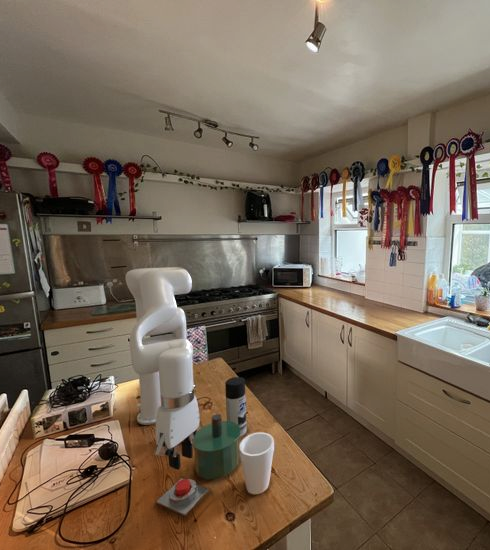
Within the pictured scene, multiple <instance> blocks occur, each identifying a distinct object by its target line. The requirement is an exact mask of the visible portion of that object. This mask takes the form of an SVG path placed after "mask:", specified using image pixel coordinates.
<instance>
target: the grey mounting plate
mask: <svg viewBox="0 0 490 550" xmlns="http://www.w3.org/2000/svg"><path fill="white" fill-rule="evenodd" d="M183 479H184V478H182V477H181V478H180V479H179V480H178V481H177V482H176V483H174V484H173V485H172V486H171V487H170V488H169V489H168V490H167V491H166V492H164V493H163V494H162V495H161V496H160V497H159V498H158V499H157V500H156V502H155V503H156V505H157V506H160V507H163V508H165V509H167V510H168V511H171V512H174V513H176V514H177V515H180V516H182V517H184V518H185V517H187V516H188V515H189V514H190V512H191V511H193V509H194V508H195V507H196V506H197V505H198V504H199V503H200V502H201V501H202V500H203V498H205V496H206V495H207V494H208V493H209V492H210V488H208V487H205V486H203V485H200V484H197V482H196V480H194V479H191V478H187V479H188V480H189V481H190V490H189V492H188V493H187V494H185V495H183V496H177V495H176V494H175V485H176V484H177V483H178V482H179V481H181V480H183Z"/></svg>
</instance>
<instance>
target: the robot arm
mask: <svg viewBox="0 0 490 550" xmlns="http://www.w3.org/2000/svg"><path fill="white" fill-rule="evenodd" d="M125 283H126V286H127V288H128V290H129V291H130V294H132V297H133V299H134V301H135V312H136V313H135V314H136V323H135V325H133V328H132V331H131V332H130V336H129V351H130V359H131V365H132V369H133V371H134V373H136V374H137V375H138V383H139V384H138V385H139V397H140V401H139V403H137V404H136V408H139V410H140V412H139V413H138V414H137V416H136V421H137V423H138V424H140V425H145V426H146V425H147V426H151V425H153V424H155V445H156V446H157V447H156V450H155V453H154V455H155V456H157V457H158V458H159V457H165V456H168V466H169V468H172V469H175V470H177V471H179V470H180V469H181V465H182V464H181V456H182V457H183V458H186V459H190V460H191V459H192V458H193V457H194V454H193V453H194V450H193V444H192V443H193V442H194V436H195V434H196V432H197V431H198V430H199V428H201V425H202V421H201V419H200V411H199V404H198V399H197V395H195V388H196V387H197V386H196V384H195V383H194V367H193V366H194V364H193V363H194V362H193V361H194V360H193V357H194V346H193V344H192V342H190V340H188V339H187V338H188V336H187V335H188V334H187V318H186V313H185V311H184V309H183V308H181V307H178V305H177V301H176V299H175V296H176V295H177V296H178V295H187V294H189V293H190V292H191V290H192V287H193V281H192V277H191V274H190V273H189V271H188V270H187V269H185V268H182V267H180V266H168V267H146V268H145V267H144V268H135V269H130V270H129V271H127V272H126V273H125ZM144 337H145V338H144ZM181 441H182V442H181ZM180 443H181V444H180ZM179 444H180V445H181V454H180V453H179Z"/></svg>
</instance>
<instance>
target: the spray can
mask: <svg viewBox="0 0 490 550" xmlns="http://www.w3.org/2000/svg"><path fill="white" fill-rule="evenodd" d="M224 384H225V385H224V386H225V388H224V389H225V411H226V412H225V413H226V421H231V422H234V423H236V424H238V425H239V427H240V430H241V433H240V436H239V438H240V437H243V436H244V435H246V434H247V431H248V430H247V429H248V427H247V426H248V425H247V401H246V400H247V399H246V398H247V397H246V380H245V378H244V377H240V376H234V377H233V376H232V377H230V378H228V379H227V380H226V381H225V382H224Z"/></svg>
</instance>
